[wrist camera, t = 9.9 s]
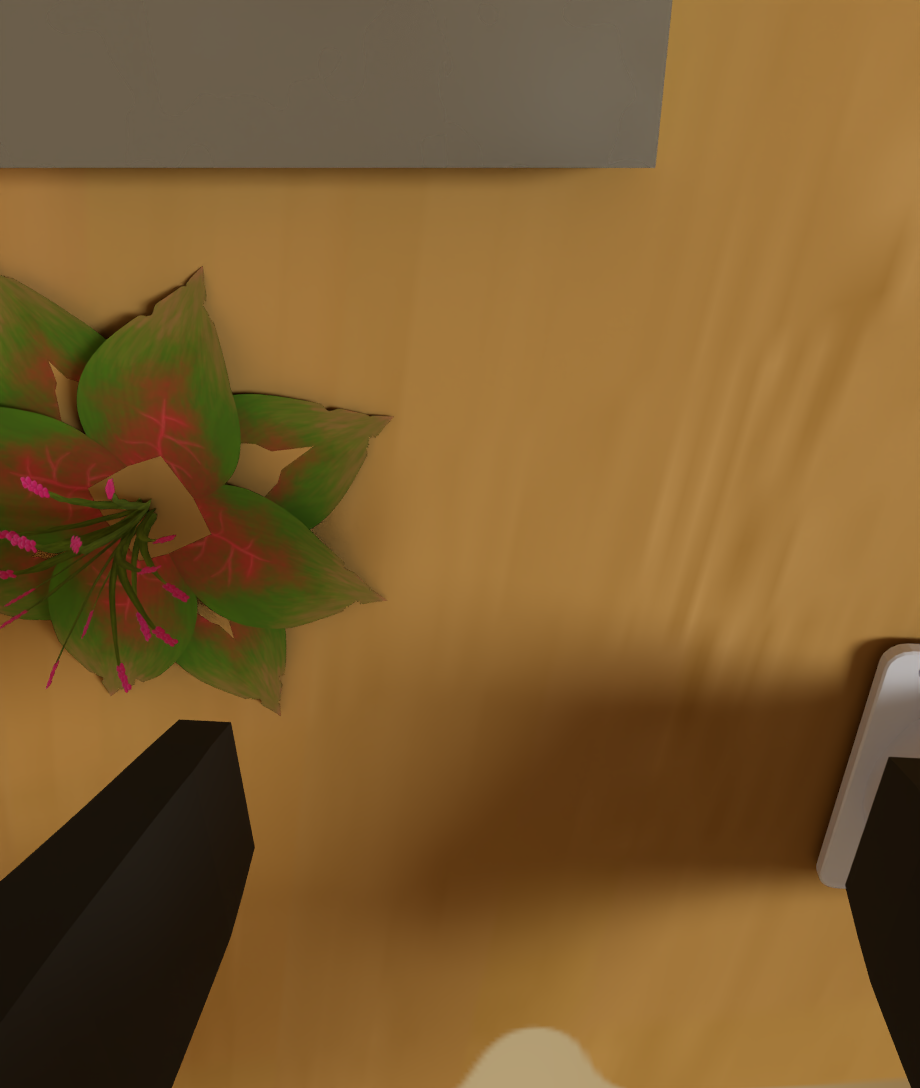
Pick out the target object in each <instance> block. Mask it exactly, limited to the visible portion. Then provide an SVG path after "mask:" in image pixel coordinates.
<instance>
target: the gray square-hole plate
mask: <svg viewBox="0 0 920 1088" xmlns="http://www.w3.org/2000/svg"><path fill="white" fill-rule="evenodd" d="M671 8H672V0H0V168H655V166H656V156H657V146H658V136H659V126H660V116H661V107H662V97H663V87H664V77H665V67H666V58H667V48H668V38H669V28H670V18H671Z"/></svg>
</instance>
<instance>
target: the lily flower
mask: <svg viewBox="0 0 920 1088" xmlns="http://www.w3.org/2000/svg"><path fill="white" fill-rule="evenodd" d="M186 285H187V286H182V287H180V288H178V289H177V290H176V291H174V292H173V293H171V294H170V295H168V296H167V297H166V298H164V299H162V300H161V301H160V302H158V303H157V304H155V305H156V306H154V311H153V313H152V314H151V315H150V316H147V317H146V316H143V315H141V316H140V315H139V316H137V317H136V318H135V319H133V320H131V321H130V322H129V323H127V324H126V325H125V326H123V327H122V328H121V329H119V330H118V331H117V332H115V333H114V334H113V335H112V336H110V337H109V338H108V339H107V340H106V339H105V338H104V337H102V336H101V335H100V334H99V333H97V332H96V331H95V330H93V329H92V328H91V327H89V326H88V325H86V324H85V323H84V322H82V321H81V320H79V319H77V318H76V317H74V316H73V315H71V314H70V313H68V312H67V311H65V310H64V309H62V308H61V307H59V306H58V305H56V304H55V303H53V302H52V301H50V300H49V299H47V298H45V297H44V296H42V295H40V294H39V293H37V292H35V291H34V290H32V289H30V288H28V287H27V286H25V285H23V284H22V283H20V282H18V281H17V280H15V279H13V278H5V276H2V275H1V276H0V613H1V614H4V615H8V616H12V618H11V619H10V620H9V621H7V622H5V623H4V624H2V626H1V627H0V629H1V628H3V627H4V626H5V625H7V624H9V623H11V622H12V621H14V620H15V619H18V618H20V619H29V620H39V619H40V620H52V624H53V627H54V630H55V633H56V635H57V637H58V640H59V642H60V643H61V644H62V645H63V648H62V650H61V652H60V654H59V657H58V659H57V661H56V663H55V665H54V666H53V670H52V671H51V674H50V678H49V681H48V683H47V687H46V689H47V688H48V687H49V686H50V685H51V683H52V681H51V680H52V678H53V676H54V674H55V670H56V668H57V666H58V663H59V658H60V656H61V653H62V651H63V649H64V647H65V649H66V650H67V651H68V652H69V653H70V654H71V655H72V656H73V657H74V658H75V659H77V660H78V661H79V662H80V663H81V664H82V665H83V666H84V667H85V668H86V669H87V670H88V671H90V672H93V673H96V674H97V675H98V676H101V677H103V681H102V684H103V685H104V686H105V687H106V689H107V690H108V692H109V694H110V696H112V695H113V694H114V693H116V692H117V691H118V690H119V689H123V688H124V690H125V692H126V693H127V692H128V690H131V686H132V685H134V684H135V680H136V679H137V680H140V681H142V682H145V681H148V680H150V679H153V678H155V677H157V676H159V675H161V674H162V673H163V672H164V671H166V670H167V669H168V668H169V666H171V665H172V664H174V662H176V663H178V664H179V665H180V666H181V667H182V668H183V669H185V670H186V671H187V672H189V673H190V674H191V675H193V676H194V677H196V678H197V679H199V680H200V681H202V682H204V683H206V684H209V685H211V686H213V687H215V688H218V689H220V690H223V691H226V692H228V693H231V694H233V695H236V696H239V697H241V698H244V699H249V698H252V699H254V700H255V699H259V700H260V699H261V701H262V703H261V704H263V706H265V707H267V708H269V709H270V710H272V711H274V712H275V713H277V714H278V715H280V716H281V710H280V704H279V701H280V697H281V690H282V683H281V681H280V680H279V677H280V676H283V675H284V672H285V663H286V640H285V639H286V631H285V628H292V627H296V626H300V625H304V624H307V623H311V622H313V621H316V620H319V619H322V618H325V617H328V616H331V615H334V614H337V613H339V612H342V611H344V609H346V606H348V607H349V605H351V604H352V603H354V602H355V600H356V601H357V602H360V604H361V603H362V604H366V603H371V602H377V601H387V600H386V599H385V598H383V597H382V596H380V595H379V594H377V593H376V592H374V591H372V590H370V587H369V586H368V585H367V584H366V583H365V582H364V581H362V580H361V579H360V578H359V577H358V576H357V575H356V574H355V573H354V572H352V571H348V570H346V569H345V568H344V562H343V561H342V560H341V559H340V558H339V557H338V556H337V555H336V554H335V553H333V552H332V551H331V550H330V549H329V548H328V547H327V546H326V545H324V544H323V543H322V542H321V541H320V540H319V539H318V538H317V537H316V536H315V535H314V534H313V533H312V532H311V531H310V529H311V528H313V527H315V526H316V525H317V524H319V523H320V522H321V521H322V520H324V519H325V518H326V517H327V516H328V515H329V514H330V513H331V512H332V511H333V509H334V508H335V507H336V506H337V505H338V503H339V502H340V501H341V499H342V498H343V497H344V495H345V493H346V492H347V490H348V489H349V487H350V486H351V484H352V482H353V480H354V479H355V477H356V475H357V473H358V471H359V469H360V468H361V466H362V464H363V462H364V460H365V458H366V457H367V449H366V448H368V445H369V444H368V442H369V437H370V438H371V437H372V436H374V437H376V436H378V435H379V433H380V432H381V431H382V429H383V428H384V427H385V426H386V425H387V424H388V423H389V422H390V420H391V419H392V418H393V417H391V416H371V417H370V416H368V415H367V414H363V413H358V412H354V411H349V410H345V409H340V408H339V409H336V410H334V411H333V410H332V411H328V410H326V409H325V408H324V406H323V405H321V404H319V403H314V402H309V401H304V400H298V399H292V398H285V397H279V396H272V395H268V396H266V395H262V394H239V395H232V392H231V388H230V383H229V379H228V374H227V370H226V366H225V361H224V358H223V354H222V351H221V347H220V343H219V339H218V336H217V332H216V329H215V325H214V323H213V322H212V320H211V319H210V318H209V317H208V316H209V315H208V313H207V311H206V310H205V308H204V306H202V305H203V304H204V301H206V291H205V286H204V276H203V266H202V267H201V268H200V269H199V270H198V271H197V272H196V273H195V274H194V275H193V276H192V277H191V278H190V280H189V281H188V282H187V284H186ZM49 362H50V363H51V364H53V365H54V366H55V367H56V368H57V369H58V370H59V371H60V372H61V373H62V374H63V375H64V376H65V377H66V378H69V379H72V380H75V381H78V382H79V384H78V390H77V409H78V414H79V418H80V421H81V424H82V427H83V429H84V431H85V433H86V435H85V434H84V433H82V432H80V431H79V430H77V429H75V428H73V427H72V426H69V425H68V424H65V423H63V422H61V417H60V412H59V407H58V402H57V398H56V393H55V389H56V384H57V382H56V380H55V377H54V374H53V372H52V369H51V367H50V364H49ZM241 443H249V444H257V445H259V446H261V447H263V448H265V449H268V450H270V451H277V450H286V449H295V448H303V447H312V446H314V447H312V448H311V449H310V450H308V451H307V452H305V453H304V454H303V455H301V456H300V457H299V458H297V459H296V460H295V461H293V462H292V463H290V464H289V465H288V466H286V467H285V468H284V469H282V470H281V474H280V477H279V481H278V483H277V484H276V485H275V487H274V488H273V489H272V490H271V491H270V492H269V493H268V494H267V495H266V496H265V497H263V496H261V495H259V494H257V493H255V492H252V491H250V490H247V489H244V488H240V487H236V486H230V485H224V484H225V483H226V482H227V481H228V480H229V479H230V478H231V476H232V474H233V473H234V471H235V469H236V466H237V463H238V459H239V455H240V445H241ZM159 456H161V457H162V458H163V459H164V461H165V462H166V463H167V464H168V466H169V467H170V468H171V470H172V471H173V472H174V474H175V475H176V476H177V477H178V479H179V480H180V481H181V483H182V484H183V485H184V487H185V488H186V489H187V490H188V492H189V493H190V494H191V496H192V497H193V498H194V500H195V502H196V504H197V506H198V508H199V510H200V512H201V514H202V516H203V518H204V520H205V522H206V524H207V526H208V528H209V530H210V532H211V535H209V536H206V537H204V538H202V539H200V540H198V541H195V542H193V543H191V544H189V545H187V546H184V547H182V548H180V549H178V550H176V551H173V552H171V553H169V554H166V555H162V556H158V557H154V558H151V557H150V555H149V552H148V546H147V542H152V541H155V542H153V544H154V543H155V544H156V543H160V542H161V543H164V542H167V541H171V540H173V539H174V537H175V536H176V535H172V536H171V535H170V536H166V537H162V538H159V539H150V538H148V534H149V532H150V529H151V527H152V525H153V524H154V522H155V521H156V519H157V514H155V513H154V511H155V509H156V508H155V509H153V510H150V511H149V507H150V503H151V499H150V500H149V501H148V502H146V503H143V502H142V500H141V499H140V498H139V499H138V500H137V501H136V502H129V501H127V500H125V499H121V500H119V499H118V497H117V495H116V494H115V493H114V492H115V489H114V486H113V484H114V482H113V483H112V481H113V478H112V479H111V480H110V479H109V480H108V482H107V485H106V487H105V490H106V489H107V490H106V493H107V496H108V499H109V498H110V500H111V499H112V500H113V502H112V501H94V499H93V498H92V496H91V494H90V492H89V490H88V489H87V488H89V487H91V486H93V485H95V484H96V483H98V482H100V481H102V480H104V479H105V478H107V477H109V476H111V475H113V474H114V473H116V472H118V471H120V470H121V469H123V468H125V467H127V466H130V465H133V464H136V463H139V462H142V461H146V460H149V459H152V458H155V457H159ZM112 486H113V487H112ZM113 489H114V490H113ZM99 509H126V511H123V512H120V513H116V514H112V515H107V516H103V515H102V514H101V512H100V510H99ZM146 513H147V514H146ZM145 514H146V516H145V518H144V519H143V520H142V522H141V523H140V524H139V525H138V526H137V524H138V523H139V522H140V521H141V519H142V518H143V517H144V515H145ZM127 515H129V516H127ZM124 516H127V517H126V518H124V519H123V520H121V521H119V522H117V523H116V524H113V525H111V526H110V525H109V524H108V523H107V522H106V521H107V520H112V519H116V518H121V517H124ZM136 526H137V528H136ZM135 528H136V529H135ZM136 532H137V533H136ZM135 534H136V536H137V537H136V539H135V542H134V546H133V551H132V552H131V551H130V549H129V545H130V542H131V539H132V538H133V536H134V535H135ZM139 548H140V552H141V554H142V556H143V558H144V560H141V561H139V560H138V559H137V558H138V553H139ZM37 550H40V551H44V552H48V553H61V554H59V555H56V556H54V557H51V558H49V559H44V558H41V557H32V556H33V555H34V554H35V553H36V552H37ZM64 551H66V552H64ZM62 552H64V553H62ZM197 597H198V598H199V599H200V600H201V601H202V602H203V603H204V604H205V605H206V606H208V607H209V608H210V609H211V610H213V611H214V612H216V613H217V614H219V615H220V616H222V617H224V618H226V619H228V620H230V622H229V623H230V626H231V629H232V632H233V636H234V639H233V638H232V637H231V636H230V635H229V634H228V633H227V632H226V631H225V630H224V629H223V628H222V627H221V626H219V625H217V624H214V623H211V622H209V621H208V620H206V619H205V618H204V617H202V616H201V615H199V614H198V613H197ZM118 688H119V689H118Z"/></svg>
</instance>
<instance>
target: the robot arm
mask: <svg viewBox="0 0 920 1088" xmlns="http://www.w3.org/2000/svg"><path fill="white" fill-rule="evenodd" d="M254 848H255V847H254V841H253V836H252V831H251V825H250V820H249V815H248V810H247V804H246V799H245V794H244V789H243V783H242V778H241V773H240V767H239V762H238V757H237V752H236V746H235V741H234V736H233V731H232V725H231V722H215V721H195V720H178V721H177V722H176V723H175V724H174V725H173V726H172V727H170V728H169V729H168V730H167V731H166V732H165V733H164V734H163V735H162V736H160V737H159V738H158V739H157V740H156V741H155V742H154V743H153V744H151V745H150V746H149V747H148V748H147V749H146V750H145V751H144V752H143V753H142V754H141V755H140V756H138V757H137V758H136V759H135V760H134V761H133V762H132V763H131V764H130V765H129V766H128V767H127V768H125V769H124V770H123V771H122V772H121V773H120V774H119V775H118V776H117V777H116V778H115V779H114V780H113V781H112V782H110V783H109V784H108V785H107V786H106V787H105V788H104V789H103V790H102V791H101V792H100V793H99V794H97V795H96V796H95V797H94V798H93V799H92V800H91V801H90V802H89V803H88V804H87V805H85V806H84V807H83V808H82V809H81V810H80V811H79V812H78V813H77V814H76V815H75V816H74V817H72V818H71V819H70V820H69V821H68V822H67V823H66V824H65V825H63V826H62V827H61V828H60V829H59V830H58V831H57V832H56V833H54V834H53V835H52V836H51V837H50V838H49V839H48V840H47V841H46V842H44V843H43V844H42V845H41V846H40V847H39V848H38V849H37V850H35V851H34V852H33V853H32V854H31V855H30V856H29V857H28V858H26V859H25V860H24V861H23V862H22V863H21V864H20V865H19V866H18V867H16V868H15V869H14V870H13V871H12V872H11V873H9V874H8V875H7V876H6V877H5V878H4V879H3V880H1V881H0V1088H172V1086H173V1083H174V1081H175V1078H176V1076H177V1073H178V1070H179V1068H180V1065H181V1063H182V1060H183V1058H184V1055H185V1053H186V1050H187V1048H188V1045H189V1043H190V1040H191V1038H192V1035H193V1033H194V1030H195V1028H196V1025H197V1022H198V1020H199V1017H200V1015H201V1012H202V1010H203V1007H204V1005H205V1002H206V1000H207V997H208V994H209V992H210V989H211V987H212V984H213V982H214V979H215V976H216V974H217V971H218V969H219V966H220V963H221V961H222V958H223V956H224V953H225V950H226V948H227V945H228V942H229V940H230V937H231V934H232V930H233V927H234V923H235V920H236V916H237V913H238V909H239V905H240V902H241V898H242V895H243V891H244V887H245V883H246V879H247V875H248V871H249V867H250V863H251V860H252V856H253V852H254ZM816 870H817V873H818V876H819V879H820V880H821V882H822V883H823V884H825V885H826V886H828V887H833V888H843V889H846V891H847V895H848V899H849V903H850V907H851V911H852V915H853V919H854V923H855V927H856V931H857V935H858V939H859V943H860V946H861V950H862V953H863V957H864V961H865V964H866V968H867V971H868V975H869V979H870V982H871V985H872V987H873V990H874V993H875V995H876V998H877V1001H878V1003H879V1006H880V1009H881V1011H882V1014H883V1017H884V1019H885V1022H886V1024H887V1027H888V1029H889V1032H890V1035H891V1037H892V1040H893V1042H894V1045H895V1047H896V1050H897V1053H898V1055H899V1058H900V1060H901V1063H902V1066H903V1068H904V1071H905V1073H906V1076H907V1078H908V1081H909V1083H910V1086H911V1088H920V644H908V643H907V644H898V645H896V646H894V647H891V648H889V649H888V650H887V651H886V652H885V653H883V655H882V657H881V658H880V660H879V664H878V667H877V670H876V673H875V677H874V680H873V683H872V686H871V689H870V693H869V696H868V699H867V702H866V706H865V709H864V712H863V715H862V719H861V722H860V725H859V728H858V732H857V735H856V738H855V741H854V745H853V748H852V751H851V754H850V757H849V761H848V764H847V767H846V770H845V774H844V777H843V780H842V783H841V787H840V790H839V793H838V796H837V800H836V803H835V806H834V809H833V812H832V816H831V819H830V822H829V825H828V829H827V832H826V835H825V838H824V842H823V845H822V848H821V851H820V855H819V858H818V861H817V864H816Z"/></svg>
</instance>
